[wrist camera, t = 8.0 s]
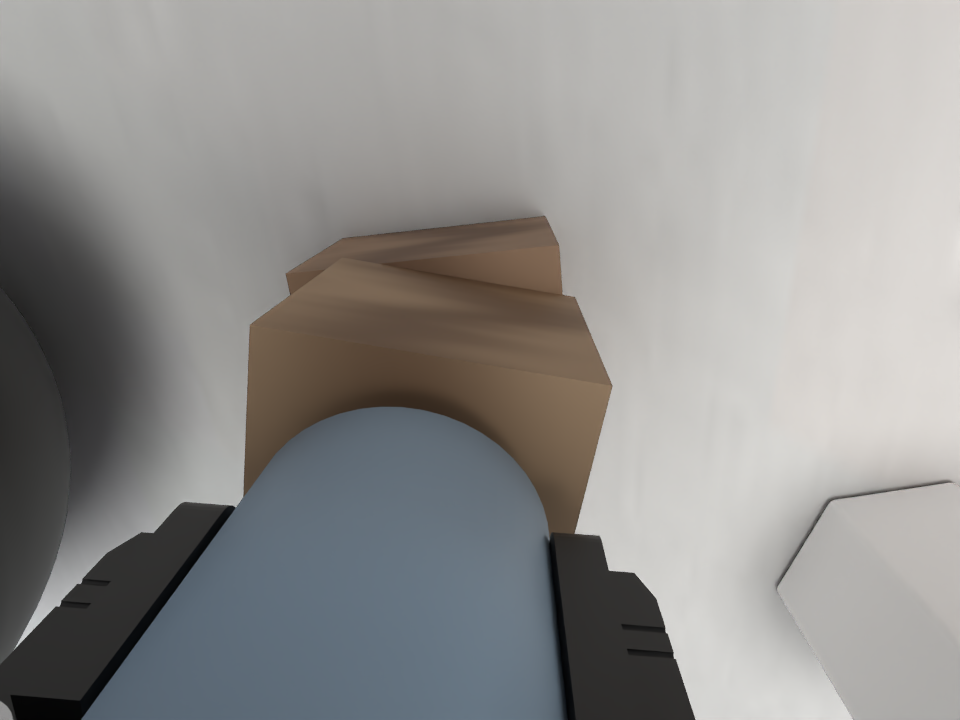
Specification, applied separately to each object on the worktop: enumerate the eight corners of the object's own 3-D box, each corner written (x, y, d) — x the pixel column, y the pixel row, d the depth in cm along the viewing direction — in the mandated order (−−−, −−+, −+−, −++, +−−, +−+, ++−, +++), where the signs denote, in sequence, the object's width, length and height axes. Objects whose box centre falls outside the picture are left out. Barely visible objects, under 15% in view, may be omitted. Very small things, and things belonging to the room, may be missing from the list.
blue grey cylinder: (565, 419, 9) (654, 841, 4) (534, 673, 11) (564, 1226, 5) (238, 394, 9) (-155, 771, 4) (257, 649, 11) (2, 1173, 6)
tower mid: (574, 297, 16) (612, 385, 10) (530, 497, 18) (541, 663, 12) (342, 257, 16) (249, 324, 10) (324, 463, 18) (238, 614, 12)
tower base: (545, 215, 21) (558, 244, 15) (559, 404, 23) (576, 489, 18) (343, 237, 22) (285, 273, 16) (377, 419, 24) (336, 507, 18)
